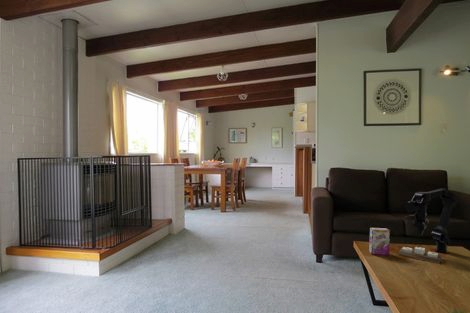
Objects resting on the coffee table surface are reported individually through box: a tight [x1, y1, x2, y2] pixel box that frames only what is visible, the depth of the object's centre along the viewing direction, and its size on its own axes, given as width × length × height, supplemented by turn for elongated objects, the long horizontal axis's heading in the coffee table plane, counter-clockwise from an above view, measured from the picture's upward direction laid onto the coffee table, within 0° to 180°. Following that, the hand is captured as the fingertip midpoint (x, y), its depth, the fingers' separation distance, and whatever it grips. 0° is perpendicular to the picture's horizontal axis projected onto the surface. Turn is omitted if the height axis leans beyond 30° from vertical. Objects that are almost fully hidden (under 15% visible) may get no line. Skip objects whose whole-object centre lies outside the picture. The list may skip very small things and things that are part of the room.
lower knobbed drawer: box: [427, 251, 439, 258], centre depth 187 cm, size 5×5×3 cm
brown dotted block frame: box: [398, 247, 443, 264], centre depth 191 cm, size 10×22×2 cm, turn 49°
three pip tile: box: [401, 246, 413, 253], centre depth 196 cm, size 5×5×3 cm
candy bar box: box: [368, 227, 391, 256], centre depth 197 cm, size 11×5×16 cm, turn 84°
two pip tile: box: [413, 246, 426, 255], centre depth 191 cm, size 5×5×3 cm
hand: (420, 235), depth 198 cm, fingers closed
